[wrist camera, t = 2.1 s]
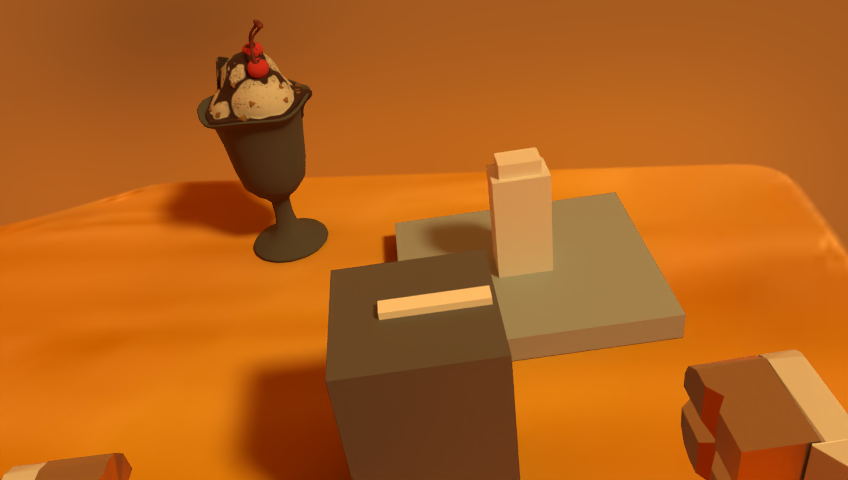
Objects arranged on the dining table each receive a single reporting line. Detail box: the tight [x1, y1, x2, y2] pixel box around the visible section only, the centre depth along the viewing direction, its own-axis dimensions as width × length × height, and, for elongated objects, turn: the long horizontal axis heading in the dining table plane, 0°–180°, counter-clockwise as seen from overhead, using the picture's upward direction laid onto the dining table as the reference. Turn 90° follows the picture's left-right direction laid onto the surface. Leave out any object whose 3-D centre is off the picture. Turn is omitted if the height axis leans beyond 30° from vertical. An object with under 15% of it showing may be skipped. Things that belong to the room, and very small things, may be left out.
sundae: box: [197, 20, 328, 262], centre depth 45 cm, size 7×7×15 cm
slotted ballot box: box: [325, 249, 520, 480], centre depth 29 cm, size 6×6×10 cm
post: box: [395, 148, 686, 361], centre depth 40 cm, size 14×12×8 cm
